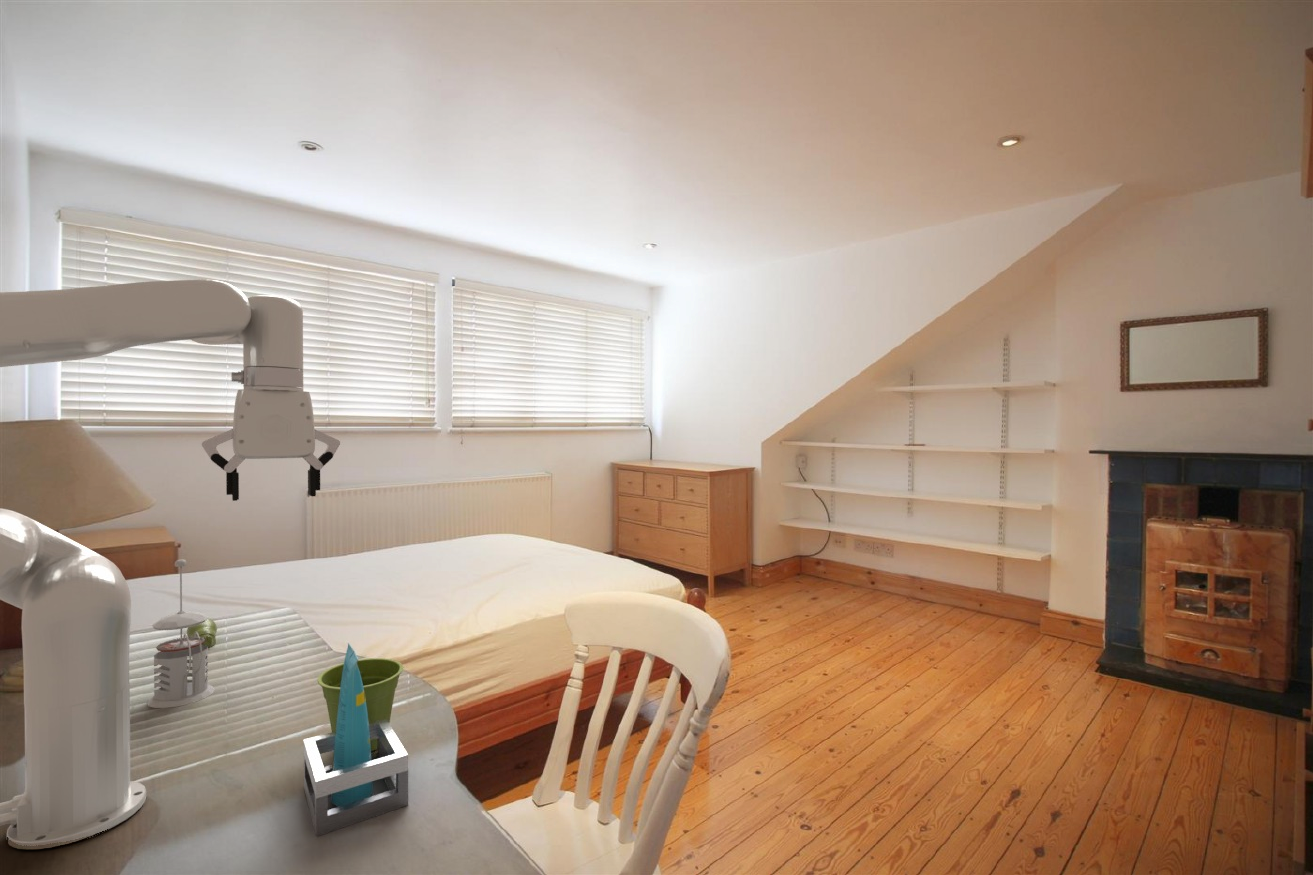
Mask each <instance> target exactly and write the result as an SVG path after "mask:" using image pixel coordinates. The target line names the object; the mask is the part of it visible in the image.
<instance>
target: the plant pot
mask: <svg viewBox="0 0 1313 875" xmlns="http://www.w3.org/2000/svg"><path fill="white" fill-rule="evenodd" d="M357 665H358V668H359V671H360V675H361V679H362V683H363V688H364V693H365V698H366V706H367V714H368V723H370V722H374V721H378V720H382V719H387V721H388V723H389V724H390V722H391V717H392V712H393V704H394V699H395V694H396V690H397V689H396V688H397V687H398V685H399V684H398V683H399V678H400V674H402V673H403V670H404V665H403V663H401V662H400V661H398V660H395V659H392V658H385V657H384V658H383V657H374V658H362V659H358V662H357ZM343 666H344V662H343V663H339V664H337V665H333V666H332V667H329V668H328V669H325V670H324V671H323V672H321V673H320V674H319V675H318V677H317V684H318V685H319V686H320V687H321V688H322V692H323V697H324V699H325V701H326V707H327V712H328V717H329V718H328V719H329V724H330V728H331V732H335V731H336V724H337V714H338V705H339V696H340V687H341V680H342V672H343ZM370 746H371V752H373V751H377V739H374V740H370Z"/></svg>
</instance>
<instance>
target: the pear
mask: <svg viewBox="0 0 1313 875" xmlns="http://www.w3.org/2000/svg"><path fill="white" fill-rule="evenodd" d="M195 631H196V632H197V633H198V634H199V637H203V638H205V639H206V640H205V642H204V643H203V644H202V645H207V646H208V648H211V647H214V646H215V644H217V639H216V633H217V632H218V626H217V624H216V622H215V621H214V620H213V619H211V618H208V619H207V620H206V621H205V622H203V623H201V624H199V625H196V626H192V627H189V628H186V635H187V637H192V636H193V637H194V633H195ZM196 637H198V636H197V634H196Z"/></svg>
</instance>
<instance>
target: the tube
mask: <svg viewBox="0 0 1313 875" xmlns="http://www.w3.org/2000/svg"><path fill="white" fill-rule="evenodd" d="M358 660H359V657H358V655H357V654H356V652H355V649H353V647H352V645H351V644H350V642H348V643H347V648H346V652H345V656H344V662H343V663H344V666H343V672H342V680H341V687H340V696H339V705H338V714H337V724H336V736H335V748H334V750H333V763H332V765H333V772H334V771H338V770H341V769H344V768H348V767H351V766H355V765H358V764H362V763H365V762H369V761H371V754H372V751H371V746H370V733H369V723H368V714H367V706H366V698H365V693H364V688H363V683H362V679H361V675H360V671H359V668H358V665H357V662H358ZM373 782H374V781H371V782H368V783H365V784H362V785H358V786H355V787H352V788H349V789H345V790H342V791H339V792H336V793H332V794H331V803H332V804H333V806H335V807H340V806H343V805H346V804H349V803H352V802H355V801H359V800H362V799H365V798H368V797H371V796H373V792H374V786H373Z"/></svg>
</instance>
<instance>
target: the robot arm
mask: <svg viewBox="0 0 1313 875" xmlns="http://www.w3.org/2000/svg"><path fill="white" fill-rule="evenodd" d="M303 312H304V311H303V308H302V306H301V304H300V303H299V302H298V301H296V300H294V299H292V298H288V297H285V296H284V297H283V296H278V295H267V294H266V295H265V294H264V295H261V294H259V295H252V296H249V297H248V298H247V296H246V295H245V294H244V293H243V292H242V291H241V290H240V289H238V288H237V287H236V286H233V285H232V284H230V283H228V282H224V281H220V280H214V279H180V280H179V279H178V280H153V281H151V280H150V281H141V282H140V281H139V282H128V283H127V282H126V283H118V284H110V285H98V286H84V287H76V288H65V289H50V290H44V289H43V290H26V291H5V292H4V291H3V292H0V368H3V367H4V368H6V367H7V368H8V367H17V366H24V365H25V366H26V365H37V364H45V363H56V362H57V363H58V362H68V361H77V360H78V361H80V360H85V359H91V358H99V357H103V356H105V355H109V354H112V353H114V352H118V351H120V350H124V349H125V350H126V349H128V348H132V347H139V346H144V345H145V346H146V345H152V344H158V343H167V342H178V341H192V342H195V343H198V344H200V345H201V344H202V345H207V346H208V345H211V346H213V345H214V346H216V345H217V346H219V345H221V346H222V345H242V346H243V347H242V349H243V350H242V351H243V352H242V357H243V358H242V360H243V361H242V364H243V368H242V369H243V370H240V371H237V372H236V371H235V372H233V371H232V372H231V382H236V383H240V384H241V385H243V389H237V392H236V396H235V401H234V409H233V421H232V422H233V423H232V424H233V425H232V428H231V429H230V430H227V431H224V432H223V433H220V434H218V435H215V436H213V437H210V438H208V439H206V440H204V441H202V442H201V447H202V448H203V450H204V451H205V453H206V454H207V456H208V457H209V459H210V460H211V461H212V463H214V464H215V465H216V466H218V467H219V468H220V469H221V470H223V471H224V472H225V475H226V482H225V484H226V491H225V492H226V495H227V496H229V495H230V496H232V497H231V498H232V499H231V500H232V502H234V501H236V502H237V501H238V500H240V499H239V498H240V488H239V487H240V486H239V484H240V483H239V482H240V480H239V478H240V476H239V474H240V473H239V472H238V470H237V469H238V467H239V466H240V464H241V463H243V462H244V461H245V460H246V459H247V460H248V459H249V460H253V459H254V460H260V459H264V460H265V459H267V460H268V459H300V458H302V459H303V460H304V461H306V463H307V464H308V465H309V469H308V470H307V495H308V496H310V497H316V494H317V491H321V470H322V469H323V468H324V466H325V465H326V464H328V463H329V462H330V461H331V460H332V459H333V458H334V455H335V453H336V452H337V450H338V449H339V447H340V446H341V441H340V440H339V439H337V438H335V437H332V436H330V435H328V434H326V433H324V432H321V431H319V430H317V429H315V419H314V408H313V402H312V397H311V394H310V392H309V391H304V314H303ZM231 440H232V449H233V453H234V455H233V456H232V457H231V458H230V459H229V460H227V459H226V458H225V457H223V455H221V454H220V453H219V451H218V450H217V446H219V445H221V444H223V443H226V442H228V441H231ZM316 440H317V441H319V442H321V443H323V444H325V445H326V446H327V447H326V450H324V452H323V453H322V454H321V455H320V456H319V457H317V456H315V455H314V453H315V450H316ZM130 593H131V592H130V589H129V585H128V583H127V580H126V578H125V577H124V575H123V573H122V571H121V569H120V568H119V567H118V566H117V565H116V564H115V563H114V562H113V561H111V560H110V559H108V558H107V557H105V556H103V555H101V554H99V553H98V552H95V551H94V550H93V549H90V548H88V547H86V546H84V545H82V544H80V543H79V542H77V541H74V540H73V539H71V538H69V537H67V536H66V535H63V534H61V533H59V532H57V531H56V530H54V529H52V528H50V527H48V526H47V525H45V524H43V523H40V522H39V521H37V520H35V519H33V518H31V517H29V516H26V515H24V514H22V513H19V512H17V511H14V510H12V509H11V510H10V509H7V508H0V601H3V602H4V603H6V604H9V605H12V606H14V607H15V608H19V609H20V610H22V611H21V639H22V640H21V641H22V642H21V643H22V661H23V706H24V784H25V785H24V787H25V788H24V792H23V793H22V794H18V795H14V796H13V797H12V799H10V800H7V801H3V802H0V827H2V826H5V825H9V824H10V825H9V826H8V828H7V831H6V838H7V837H8V838H9V840H11V841H12V842H14V843H16V844H18V845H22V846H24V845H25V846H26V845H27V846H36V845H37V846H38V845H46V844H50V843H51V844H52V843H57V842H58V843H59V842H66V841H70V840H75V839H79V838H82V837H86V836H90V835H93V834H95V833H99V832H102V831H104V832H106V831H108V830H110V829H112V828H114V827H116V826H117V825H120V824H121V823H123V822H124V821H127V820H128V819H129V818H130V817H132V816H133V815H134V814H136V812H138V810H140V809H141V808H142V806H143V805H144V804H145V802H146V798H147V788H146V786H145V785H144V784H142V783H140V782H137V781H134V780H131V707H130V706H131V704H130V698H131V694H130V693H131V690H130V689H131V687H130V686H131V685H130V684H131V683H130V643H131V642H130V640H131V639H130V638H131V621H132V619H131V618H132V600H131V594H130ZM107 829H108V830H107ZM105 830H106V831H105ZM102 833H103V832H102ZM99 834H100V833H99Z"/></svg>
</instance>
